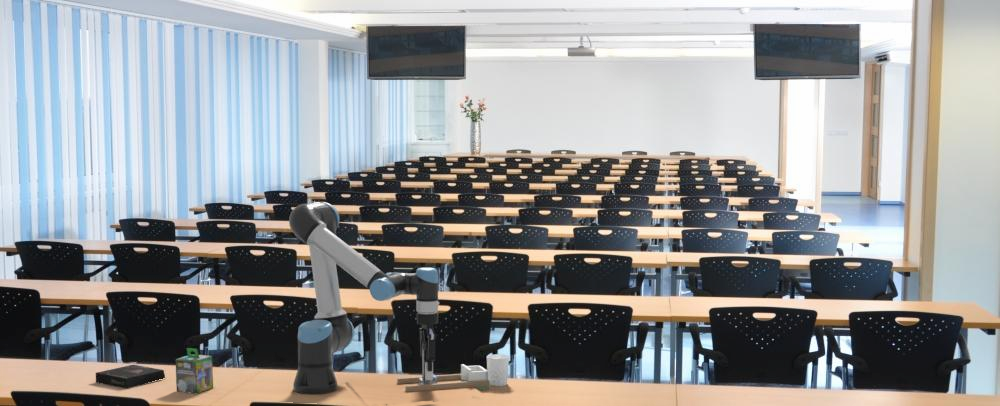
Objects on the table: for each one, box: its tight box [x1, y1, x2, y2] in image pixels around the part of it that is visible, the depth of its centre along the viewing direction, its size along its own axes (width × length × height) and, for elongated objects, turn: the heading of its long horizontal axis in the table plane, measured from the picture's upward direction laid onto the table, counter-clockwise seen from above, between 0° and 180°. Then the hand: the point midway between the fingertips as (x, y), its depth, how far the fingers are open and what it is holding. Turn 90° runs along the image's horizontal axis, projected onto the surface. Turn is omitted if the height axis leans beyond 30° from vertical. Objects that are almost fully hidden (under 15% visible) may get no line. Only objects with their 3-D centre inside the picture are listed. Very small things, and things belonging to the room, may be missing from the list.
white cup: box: [486, 353, 510, 387], centre depth 395 cm, size 8×8×10 cm
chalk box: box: [175, 347, 214, 394], centre depth 385 cm, size 9×9×15 cm
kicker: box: [417, 343, 438, 385], centre depth 387 cm, size 5×7×15 cm
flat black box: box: [95, 364, 166, 389], centre depth 398 cm, size 16×17×4 cm
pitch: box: [396, 373, 491, 393], centre depth 389 cm, size 30×13×3 cm, turn 109°
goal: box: [460, 363, 488, 382], centre depth 393 cm, size 7×10×6 cm
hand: (427, 378), depth 387 cm, fingers closed on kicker, 3 cm apart
